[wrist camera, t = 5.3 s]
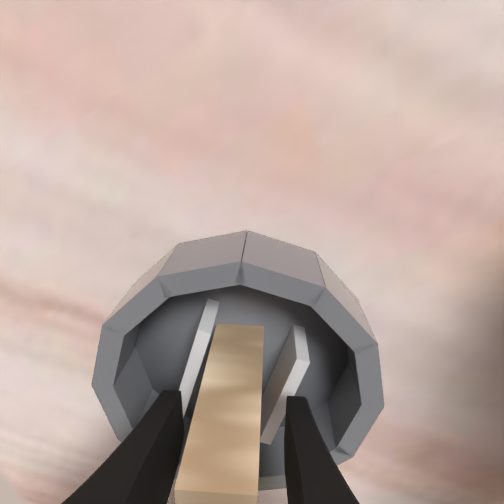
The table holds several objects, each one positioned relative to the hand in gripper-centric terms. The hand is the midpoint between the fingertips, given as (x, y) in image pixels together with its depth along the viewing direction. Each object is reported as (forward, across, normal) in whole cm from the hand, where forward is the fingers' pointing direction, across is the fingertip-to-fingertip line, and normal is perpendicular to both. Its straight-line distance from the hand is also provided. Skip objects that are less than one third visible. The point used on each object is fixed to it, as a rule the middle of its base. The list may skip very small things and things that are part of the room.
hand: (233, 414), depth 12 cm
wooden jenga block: (+3, 0, 0) cm, 3 cm away
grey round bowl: (+4, 0, 0) cm, 4 cm away
